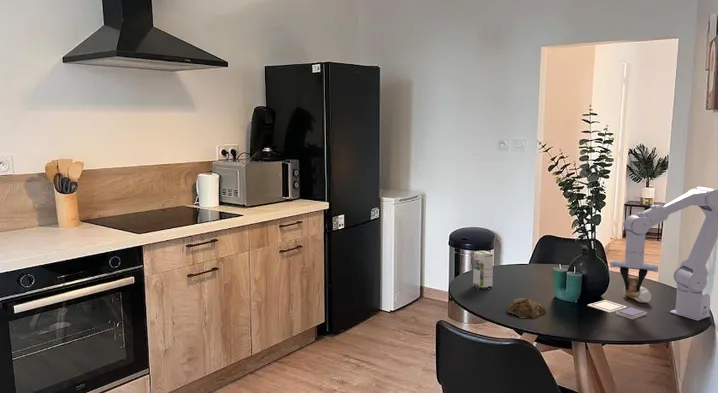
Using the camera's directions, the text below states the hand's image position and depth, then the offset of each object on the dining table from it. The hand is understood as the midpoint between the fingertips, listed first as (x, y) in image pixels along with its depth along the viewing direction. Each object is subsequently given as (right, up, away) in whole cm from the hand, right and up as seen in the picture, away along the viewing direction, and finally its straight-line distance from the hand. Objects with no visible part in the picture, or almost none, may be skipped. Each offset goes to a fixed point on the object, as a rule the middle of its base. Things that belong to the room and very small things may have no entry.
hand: (632, 289), depth 186 cm
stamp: (0, -2, 0) cm, 2 cm away
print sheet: (-4, -8, +10) cm, 13 cm away
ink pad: (0, -9, +1) cm, 9 cm away
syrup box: (-44, -5, +34) cm, 56 cm away
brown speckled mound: (-35, -9, +5) cm, 37 cm away
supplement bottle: (+9, -3, +21) cm, 23 cm away
